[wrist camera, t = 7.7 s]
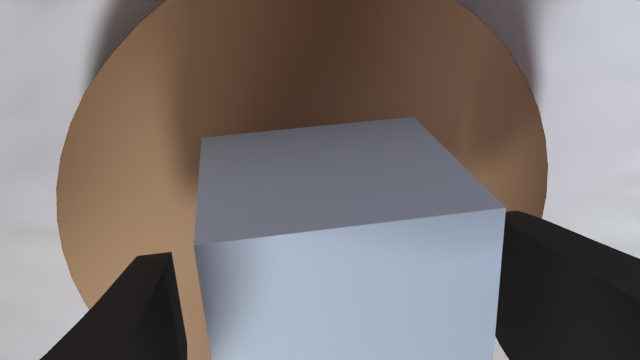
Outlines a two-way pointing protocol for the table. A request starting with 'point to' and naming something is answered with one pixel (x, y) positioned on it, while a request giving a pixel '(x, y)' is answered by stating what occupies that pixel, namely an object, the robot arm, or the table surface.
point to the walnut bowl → (276, 115)
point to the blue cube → (345, 246)
